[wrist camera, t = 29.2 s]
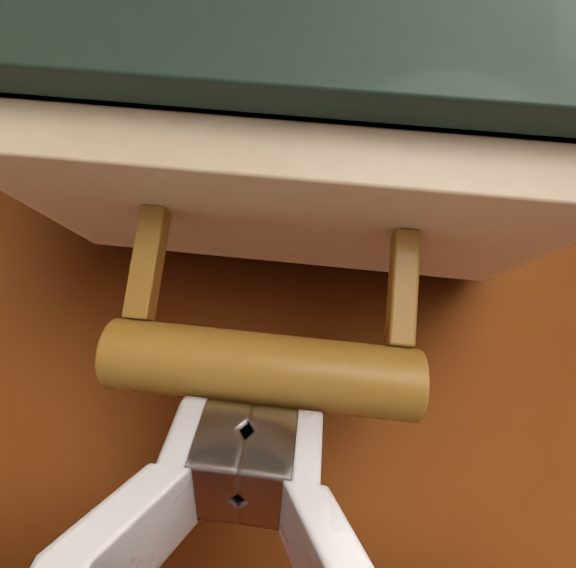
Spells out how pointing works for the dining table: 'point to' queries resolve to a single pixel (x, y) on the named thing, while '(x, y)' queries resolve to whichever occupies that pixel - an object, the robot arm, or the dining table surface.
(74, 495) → the dining table surface
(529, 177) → the drawer
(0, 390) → the dining table surface
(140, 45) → the cabinet
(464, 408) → the dining table surface
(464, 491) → the dining table surface
